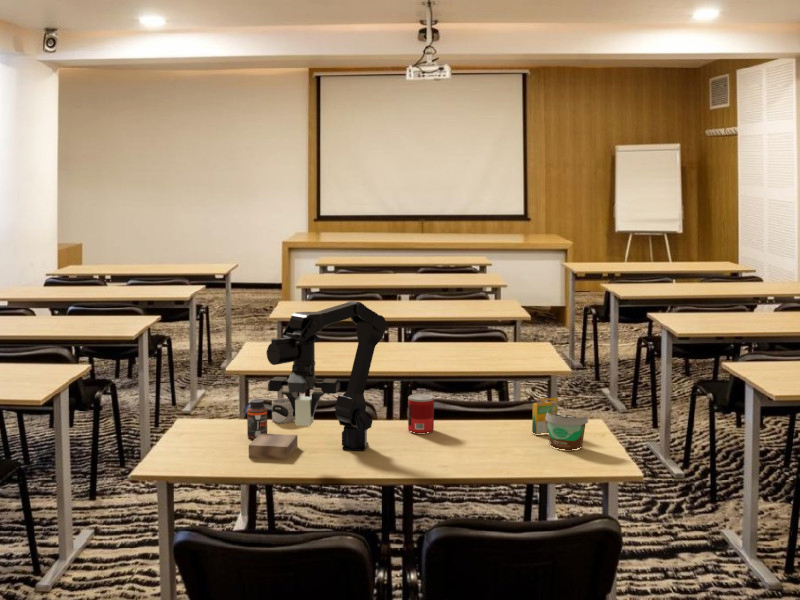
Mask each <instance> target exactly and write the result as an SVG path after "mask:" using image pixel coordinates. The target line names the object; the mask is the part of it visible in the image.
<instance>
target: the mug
mask: <svg viewBox="0 0 800 600" xmlns="http://www.w3.org/2000/svg"><path fill="white" fill-rule="evenodd" d="M271 418H272V419H271V422H272V423H273V424H277V423H280V424H279V425H285V423H286V424H290V423H292V422H294V421H295V415H294V411H293V408H292V405H291V403H290V401H289V399H288V398H276V399H272V401H271Z"/></svg>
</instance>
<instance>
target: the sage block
mask: <svg viewBox="0 0 800 600" xmlns="http://www.w3.org/2000/svg"><path fill="white" fill-rule="evenodd" d="M311 405H312V396H306V395H305V396H302V395H301V396H300V395H299V396H298V398H297V399H296V400H295V413H294V416H295V420H294V421H295V423H294V424H295V426H304V427H308V426H309V427H310V426H311V425H312V424H313V423H314V422H315V421H314V416H313V417H311Z"/></svg>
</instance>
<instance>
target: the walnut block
mask: <svg viewBox="0 0 800 600" xmlns="http://www.w3.org/2000/svg"><path fill="white" fill-rule="evenodd" d="M297 448H299V447H298V434H278V433H276V434H275V433H267V434H260V435H259V436H257V437H256V438H255V439H252V441H251V442H250V443H249V444H248V458H249V459H263V460H264V459H268V460H284V461H285V460H289V458H290V457H291V456H292V455H293V454H294V452H295V451H296V450H297Z"/></svg>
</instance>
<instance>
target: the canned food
mask: <svg viewBox="0 0 800 600" xmlns="http://www.w3.org/2000/svg"><path fill="white" fill-rule="evenodd" d="M407 399H408V401H407V403H408V404H407V406H408V409H407V417H408V418H407V427H408V428H407V429H408V432H409V431H412V432H415V433H427V432H431V431H434V428H435V427H434V421H435V420H434V419H435V417H434V416H435V397H434V395H432V394H428V393H414V394H410V395H409V396H408V397H407ZM431 433H432V432H431Z"/></svg>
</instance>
